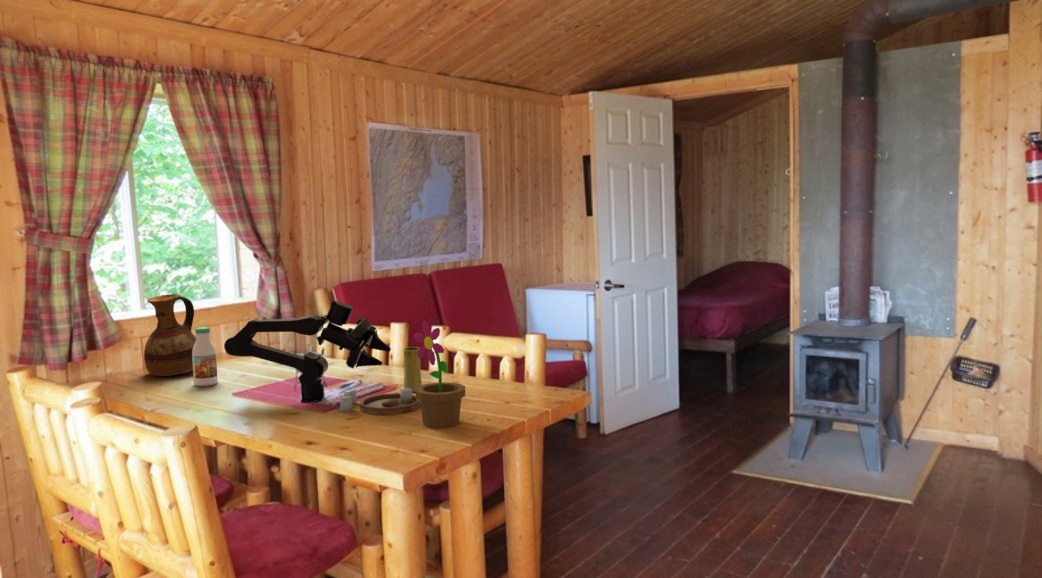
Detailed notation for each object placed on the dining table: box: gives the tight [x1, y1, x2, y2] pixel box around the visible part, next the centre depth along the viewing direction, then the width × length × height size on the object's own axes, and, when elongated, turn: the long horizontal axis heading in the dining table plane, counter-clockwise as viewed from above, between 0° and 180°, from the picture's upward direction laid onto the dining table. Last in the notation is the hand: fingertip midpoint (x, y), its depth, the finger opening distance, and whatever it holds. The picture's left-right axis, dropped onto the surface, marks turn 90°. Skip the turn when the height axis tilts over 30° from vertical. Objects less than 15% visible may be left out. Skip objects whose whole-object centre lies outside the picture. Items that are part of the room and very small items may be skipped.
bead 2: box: [339, 396, 354, 413], centre depth 233 cm, size 4×4×4 cm
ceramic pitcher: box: [143, 293, 197, 377], centre depth 286 cm, size 20×20×30 cm
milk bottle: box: [192, 326, 219, 387], centre depth 269 cm, size 8×8×20 cm
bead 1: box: [343, 389, 357, 406], centre depth 241 cm, size 4×4×4 cm
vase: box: [403, 346, 423, 394], centre depth 256 cm, size 6×6×14 cm
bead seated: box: [399, 387, 413, 404], centre depth 239 cm, size 4×4×4 cm
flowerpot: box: [413, 320, 466, 430], centre depth 217 cm, size 14×14×30 cm
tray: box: [359, 392, 421, 416], centre depth 237 cm, size 18×18×2 cm
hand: (386, 356), depth 245 cm, fingers open, 9 cm apart
